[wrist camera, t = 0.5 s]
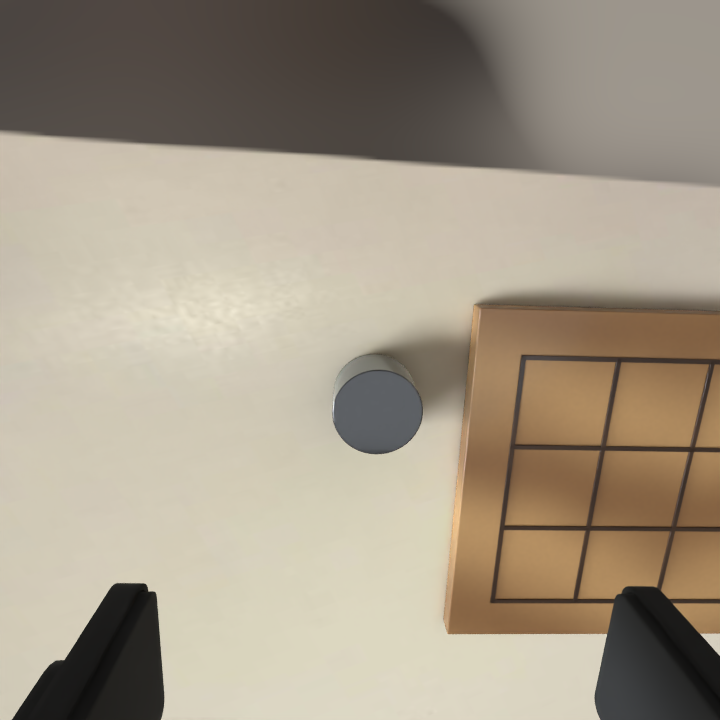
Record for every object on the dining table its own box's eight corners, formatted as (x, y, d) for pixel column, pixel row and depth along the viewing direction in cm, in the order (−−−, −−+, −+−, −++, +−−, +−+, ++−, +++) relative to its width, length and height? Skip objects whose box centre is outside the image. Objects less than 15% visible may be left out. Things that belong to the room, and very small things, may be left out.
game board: (473, 303, 25) (480, 308, 24) (840, 314, 26) (866, 318, 25) (443, 619, 31) (447, 636, 29) (748, 619, 32) (766, 635, 30)
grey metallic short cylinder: (334, 352, 26) (333, 368, 23) (416, 354, 26) (426, 370, 23) (332, 429, 27) (331, 454, 24) (411, 431, 27) (420, 455, 24)
